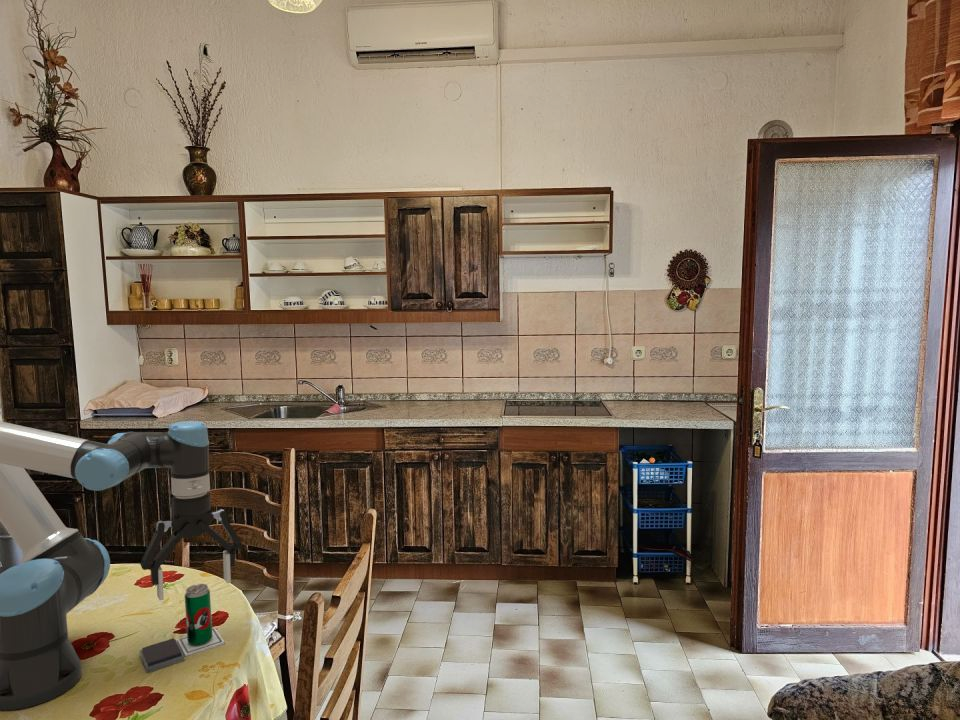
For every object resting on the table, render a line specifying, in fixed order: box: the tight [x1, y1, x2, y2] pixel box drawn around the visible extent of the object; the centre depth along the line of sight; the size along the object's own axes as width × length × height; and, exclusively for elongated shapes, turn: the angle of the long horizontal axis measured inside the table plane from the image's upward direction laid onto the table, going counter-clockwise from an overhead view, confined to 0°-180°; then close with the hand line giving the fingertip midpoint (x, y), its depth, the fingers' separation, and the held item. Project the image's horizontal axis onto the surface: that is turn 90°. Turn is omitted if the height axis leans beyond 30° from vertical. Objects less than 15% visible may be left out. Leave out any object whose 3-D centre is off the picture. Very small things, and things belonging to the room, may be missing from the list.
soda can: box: [184, 583, 213, 646], centre depth 137 cm, size 5×5×12 cm
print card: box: [176, 627, 226, 658], centre depth 138 cm, size 8×8×1 cm
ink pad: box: [139, 637, 185, 674], centre depth 132 cm, size 7×8×2 cm
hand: (194, 589), depth 137 cm, fingers open, 13 cm apart
